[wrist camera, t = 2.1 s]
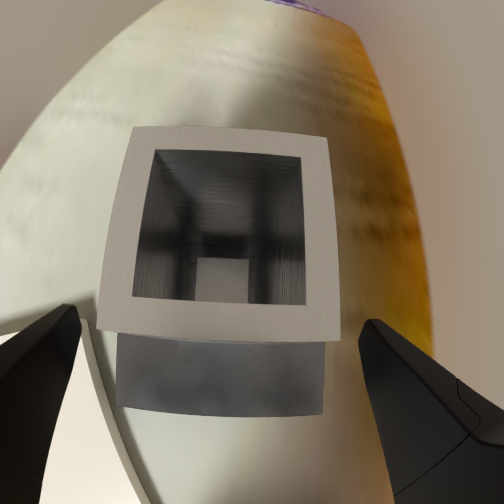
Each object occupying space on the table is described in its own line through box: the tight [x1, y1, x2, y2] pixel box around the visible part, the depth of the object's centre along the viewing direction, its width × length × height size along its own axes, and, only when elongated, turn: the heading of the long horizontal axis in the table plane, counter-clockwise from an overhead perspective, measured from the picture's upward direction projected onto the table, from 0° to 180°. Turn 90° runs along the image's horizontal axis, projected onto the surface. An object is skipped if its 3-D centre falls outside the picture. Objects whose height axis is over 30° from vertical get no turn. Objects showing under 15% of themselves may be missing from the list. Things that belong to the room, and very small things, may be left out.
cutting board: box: [0, 318, 151, 504], centre depth 14 cm, size 16×14×2 cm
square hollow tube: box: [96, 126, 341, 344], centre depth 12 cm, size 5×5×11 cm
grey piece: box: [116, 257, 324, 417], centre depth 16 cm, size 14×12×6 cm
